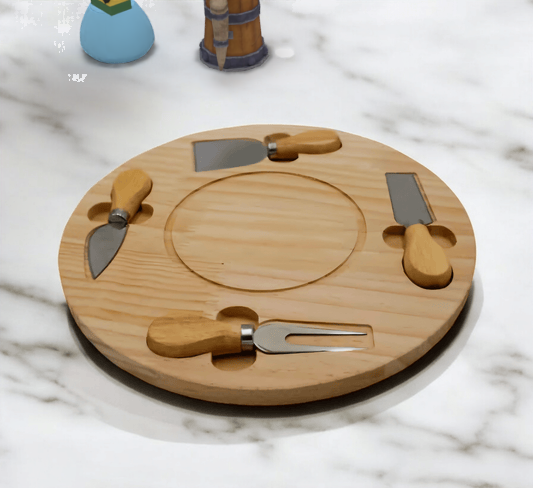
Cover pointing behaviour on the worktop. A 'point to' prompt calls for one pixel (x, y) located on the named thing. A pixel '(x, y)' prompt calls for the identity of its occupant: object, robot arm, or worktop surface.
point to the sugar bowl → (116, 34)
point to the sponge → (112, 6)
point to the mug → (232, 35)
